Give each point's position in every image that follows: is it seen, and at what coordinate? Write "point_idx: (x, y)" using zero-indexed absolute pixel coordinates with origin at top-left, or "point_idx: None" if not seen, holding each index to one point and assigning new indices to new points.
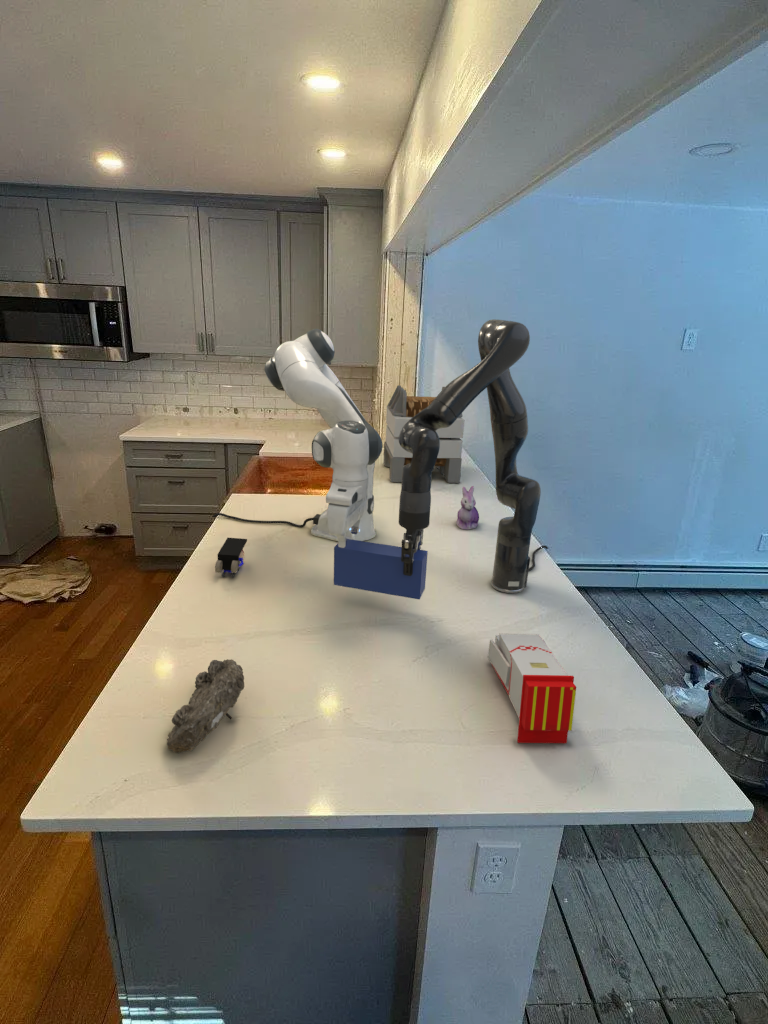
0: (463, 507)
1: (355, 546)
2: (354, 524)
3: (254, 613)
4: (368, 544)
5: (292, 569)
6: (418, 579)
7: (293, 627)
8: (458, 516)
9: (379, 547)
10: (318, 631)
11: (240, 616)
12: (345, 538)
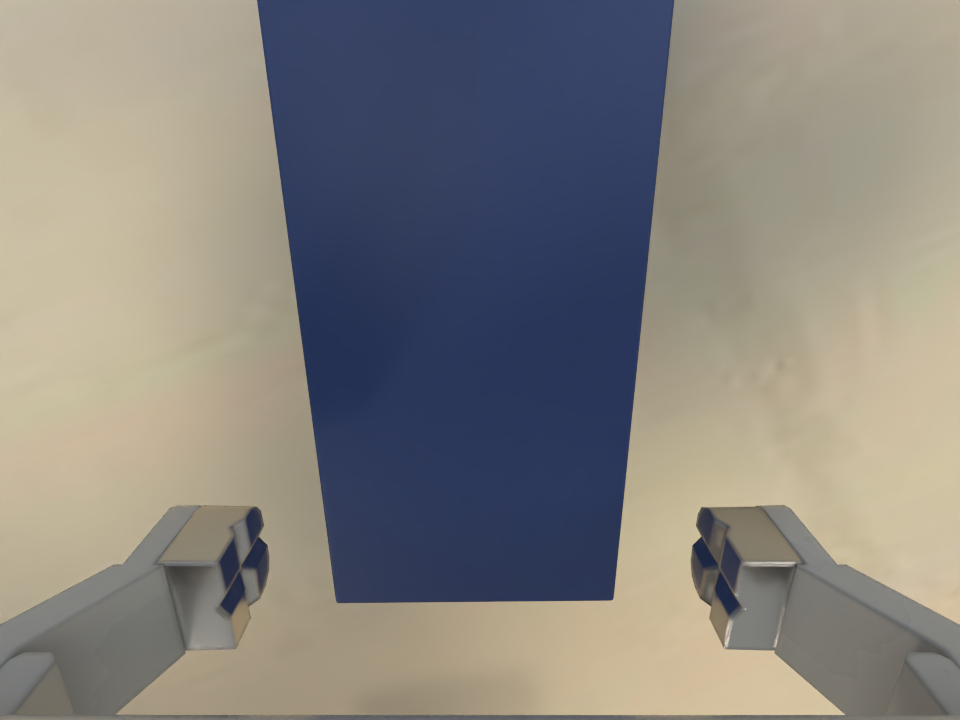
0: None
1: (513, 406)
2: (143, 651)
3: (681, 608)
4: (380, 269)
5: (255, 632)
6: None
7: (759, 437)
8: None
9: (417, 68)
10: (773, 326)
11: (716, 638)
12: (865, 597)
